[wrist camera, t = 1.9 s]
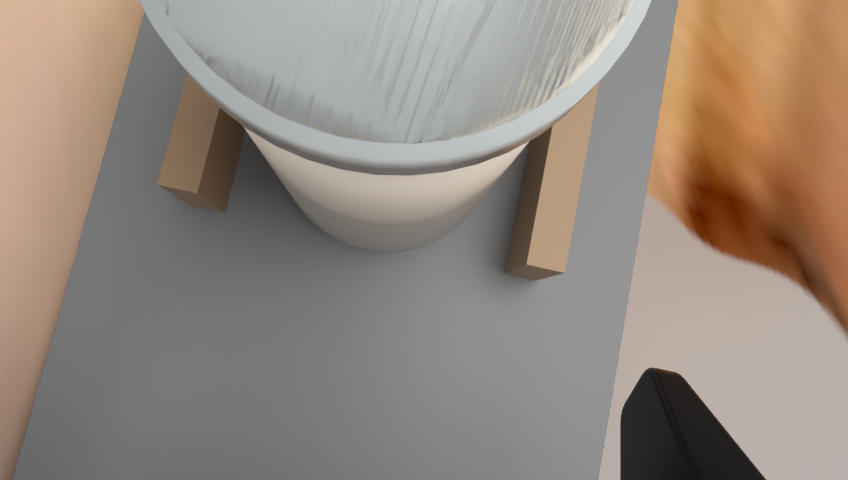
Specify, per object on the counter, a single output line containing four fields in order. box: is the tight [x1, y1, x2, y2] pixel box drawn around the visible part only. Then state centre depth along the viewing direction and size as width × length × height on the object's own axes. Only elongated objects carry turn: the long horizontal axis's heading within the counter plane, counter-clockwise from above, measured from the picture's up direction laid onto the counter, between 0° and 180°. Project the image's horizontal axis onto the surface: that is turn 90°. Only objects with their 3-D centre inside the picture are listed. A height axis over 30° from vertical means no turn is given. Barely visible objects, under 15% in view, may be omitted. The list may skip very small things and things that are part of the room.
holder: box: [12, 0, 678, 480], centre depth 19 cm, size 24×16×4 cm, turn 168°
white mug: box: [139, 0, 651, 252], centre depth 14 cm, size 9×7×12 cm
